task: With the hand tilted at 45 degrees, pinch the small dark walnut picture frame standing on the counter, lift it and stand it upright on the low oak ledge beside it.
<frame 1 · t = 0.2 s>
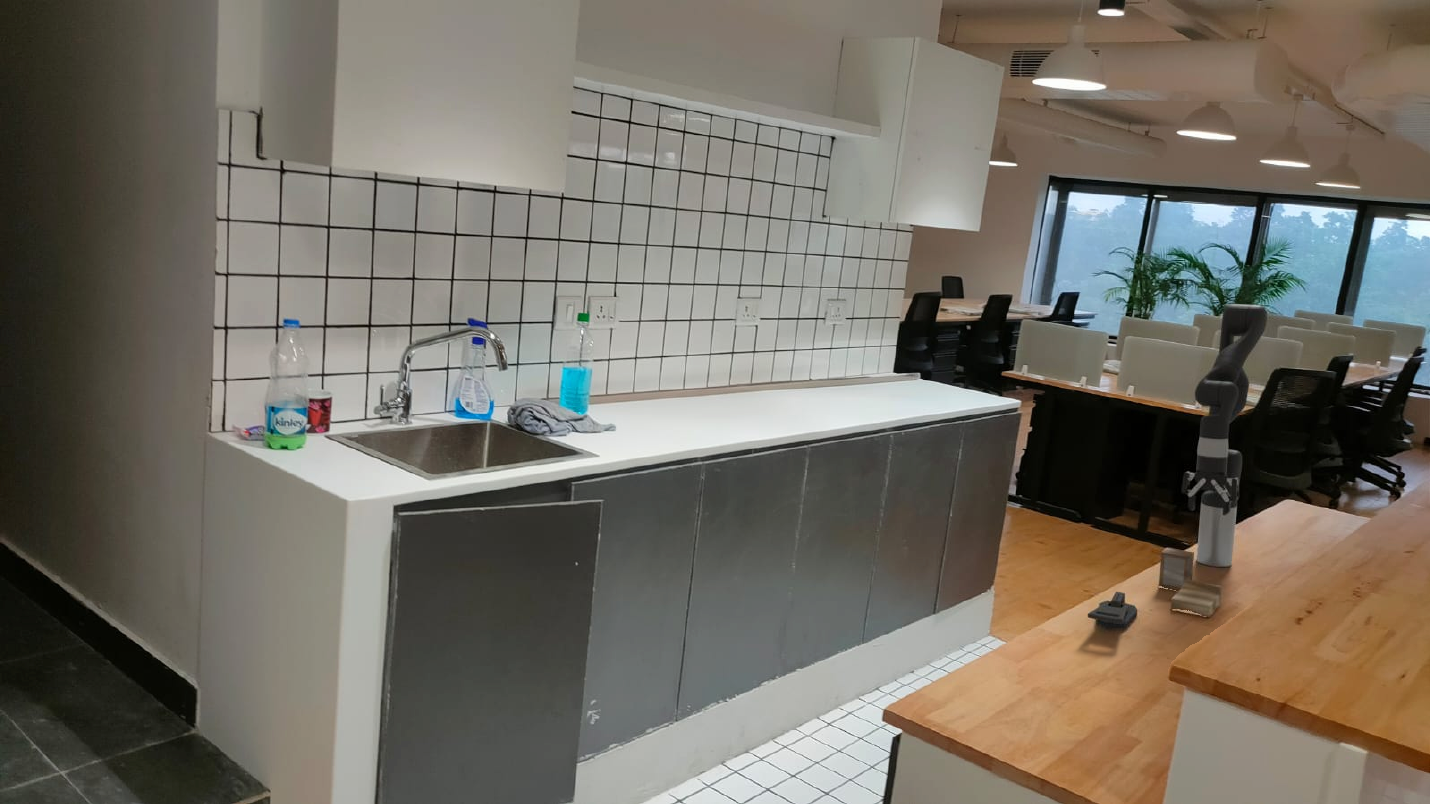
hand: (1208, 512, 292), 18 cm above the counter, tool pointing down, fingers open, 8 cm apart
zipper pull: (1111, 627, 258), on the counter
ledge: (1195, 607, 271), on the counter
frame: (1174, 588, 285), on the counter
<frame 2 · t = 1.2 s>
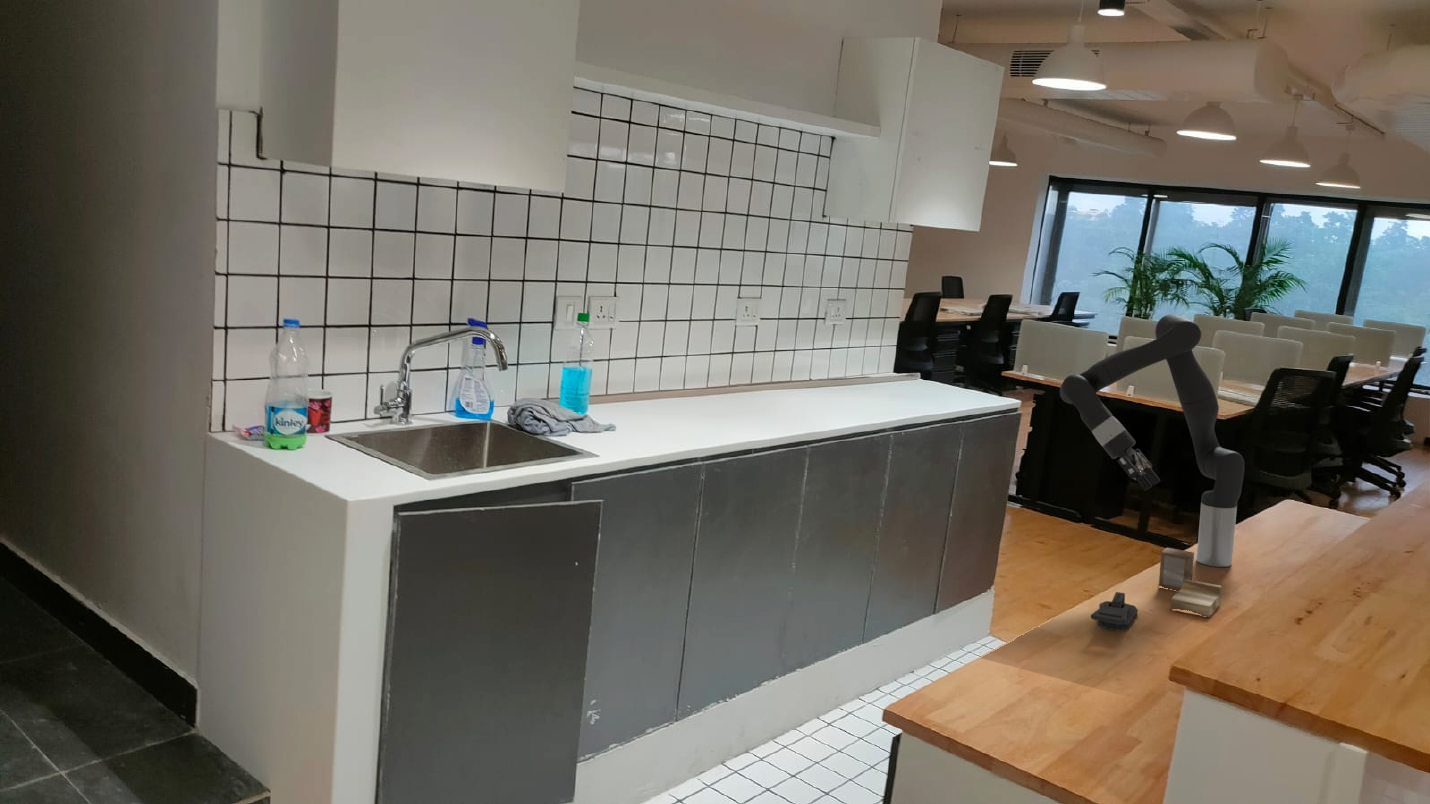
hand: (1153, 485, 283), 27 cm above the counter, tool tilted 45°, fingers open, 8 cm apart
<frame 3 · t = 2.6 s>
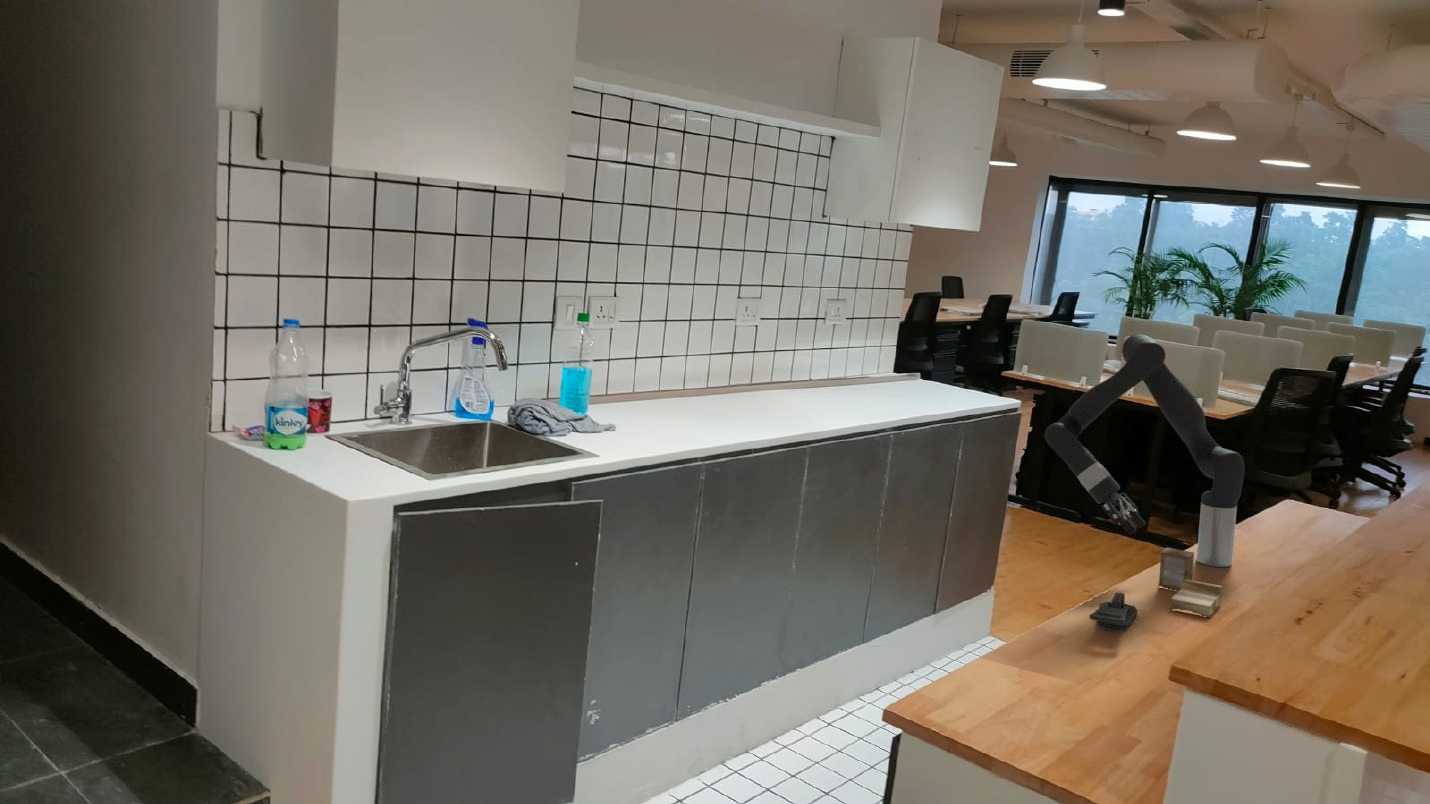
hand: (1138, 529, 289), 14 cm above the counter, tool tilted 45°, fingers open, 8 cm apart
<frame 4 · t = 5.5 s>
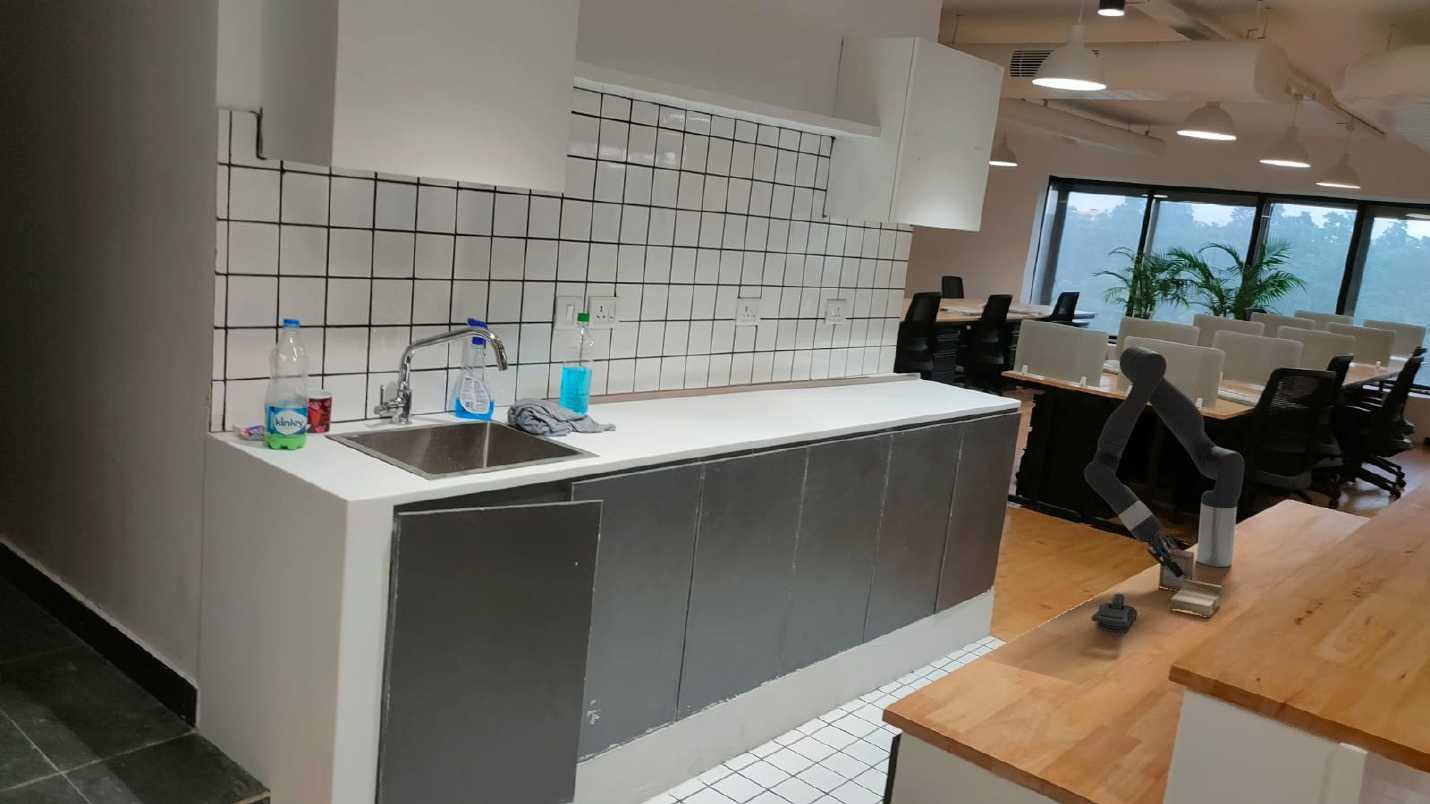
hand: (1183, 572, 283), 5 cm above the counter, tool tilted 45°, fingers closed on frame, 5 cm apart
frame: (1175, 588, 285), on the counter, touching gripper
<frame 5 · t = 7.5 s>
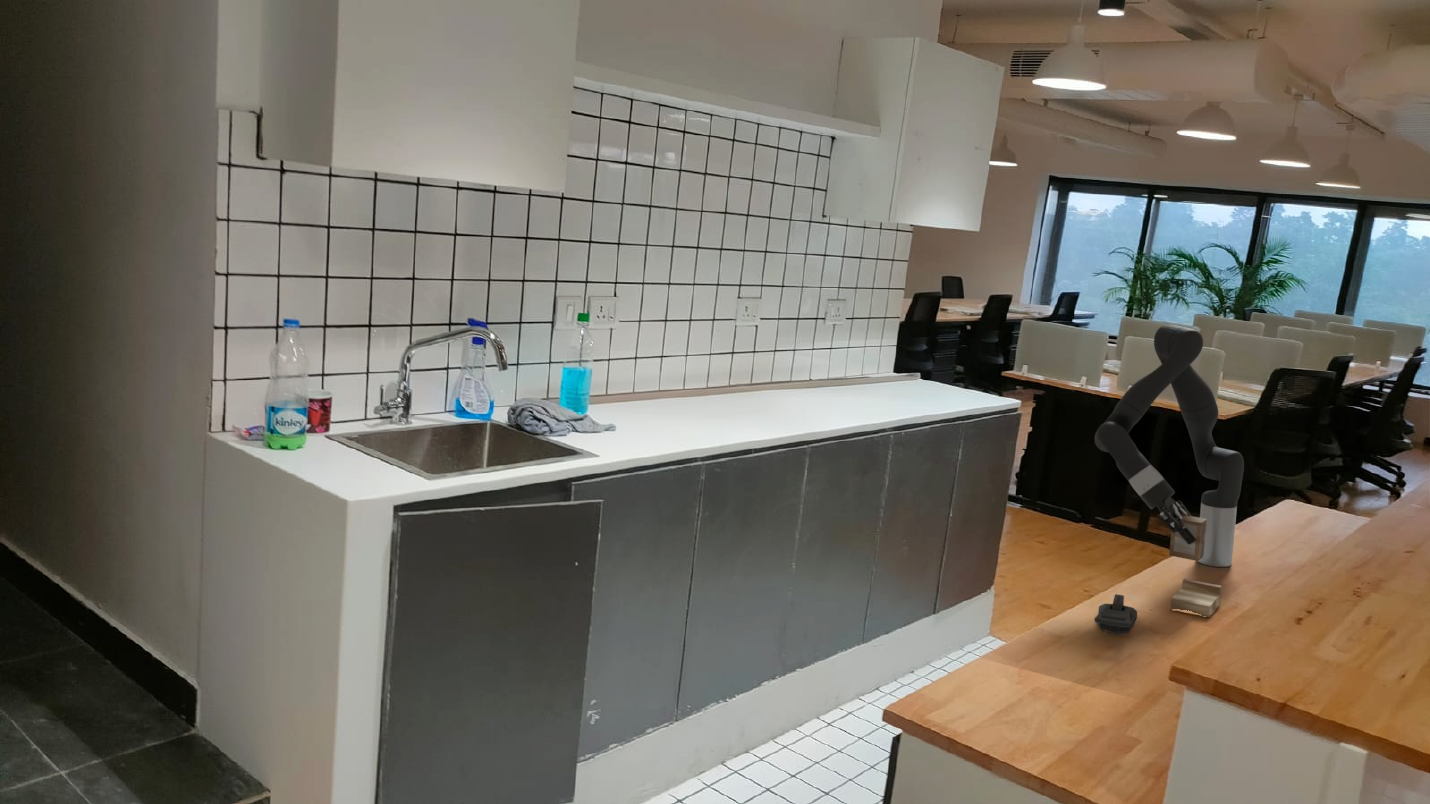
hand: (1195, 539, 273), 16 cm above the counter, tool tilted 45°, fingers closed on frame, 5 cm apart
frame: (1186, 556, 275), point 12 cm above the counter, touching gripper
when the fingers open (9 cm above the counter, at t = 9.8 s): frame stays where it is, resting on ledge.
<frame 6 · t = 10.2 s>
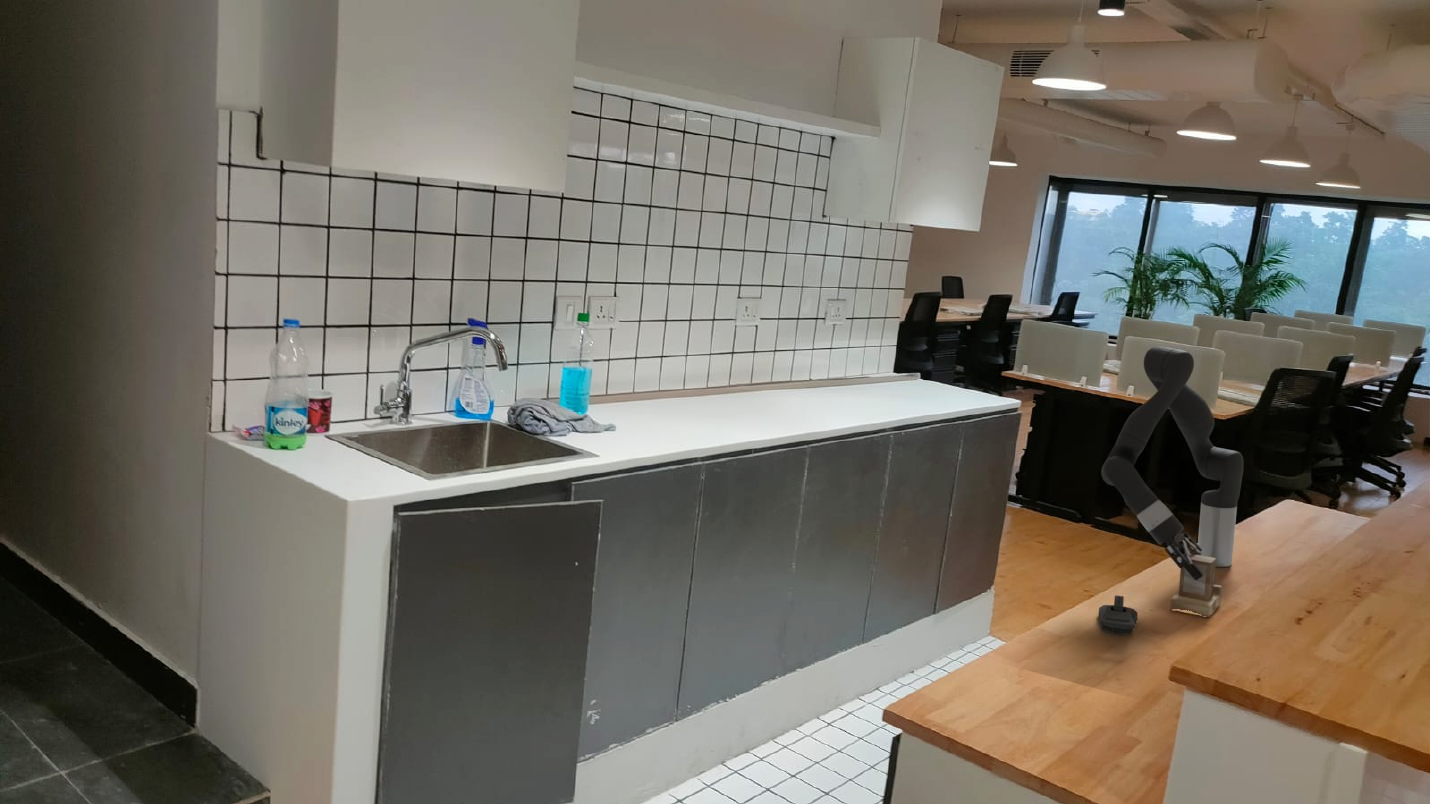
hand: (1203, 573, 268), 9 cm above the counter, tool tilted 45°, fingers open, 8 cm apart
frame: (1195, 595, 270), point 3 cm above the counter, touching ledge
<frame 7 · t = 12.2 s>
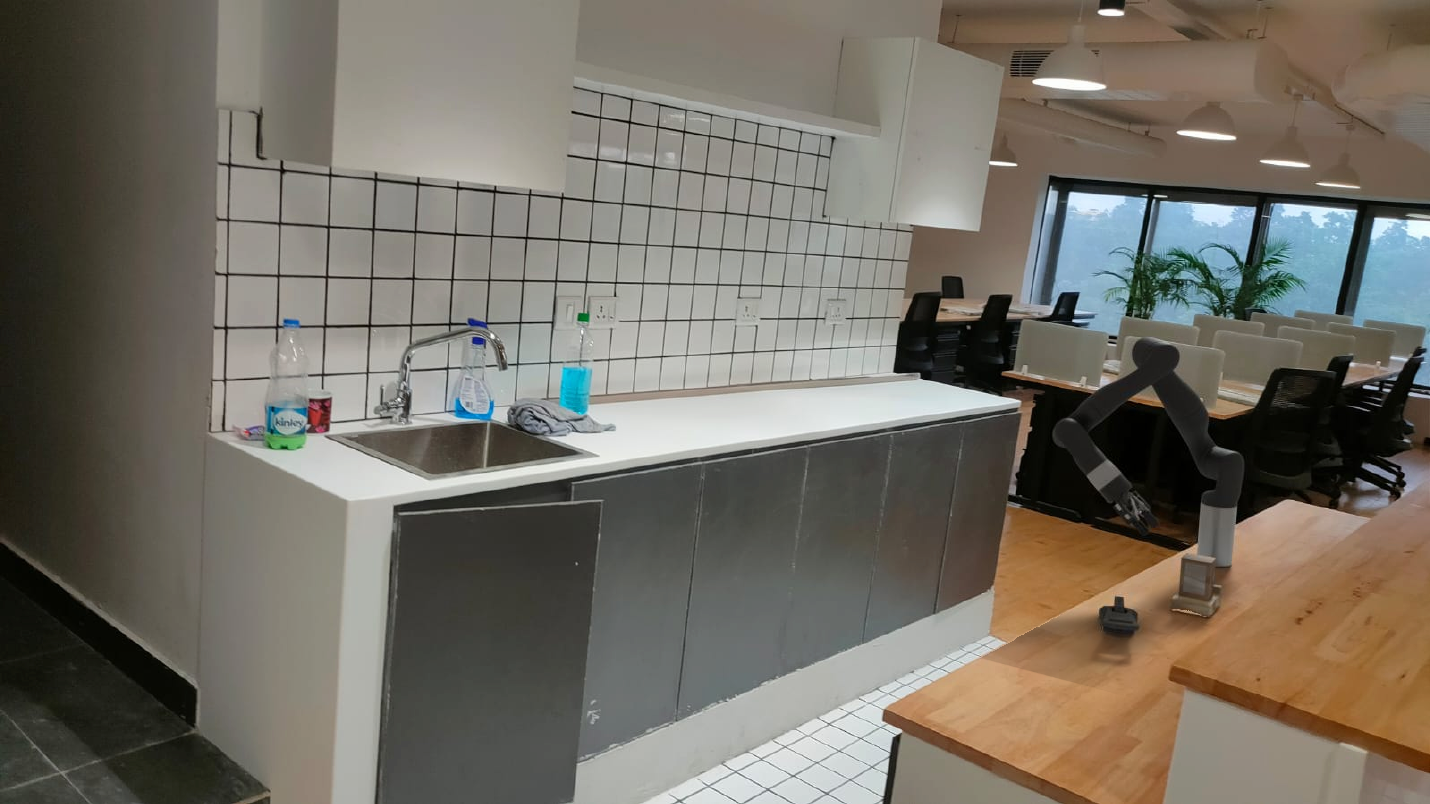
hand: (1151, 530, 277), 18 cm above the counter, tool tilted 45°, fingers open, 8 cm apart
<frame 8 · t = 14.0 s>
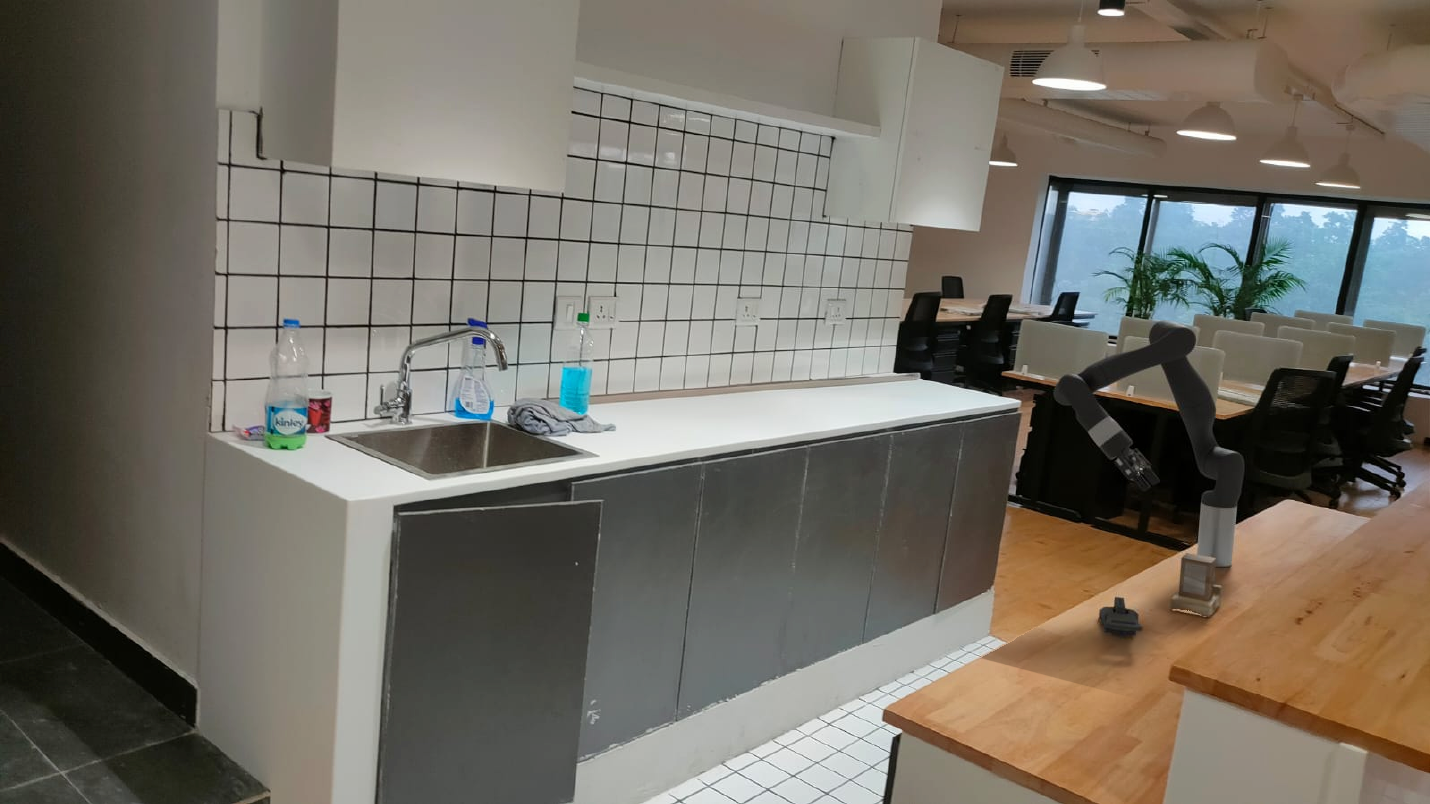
hand: (1152, 486, 277), 29 cm above the counter, tool tilted 45°, fingers open, 8 cm apart
at the end: frame inside the target area (0.4 cm from its centre), point 3.0 cm above the counter; frame tilted 0°; the gripper is holding nothing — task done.
